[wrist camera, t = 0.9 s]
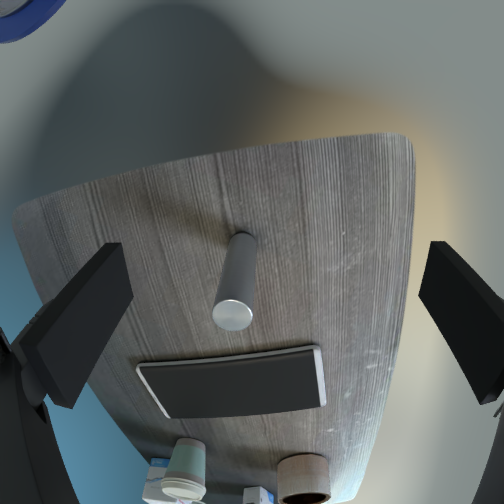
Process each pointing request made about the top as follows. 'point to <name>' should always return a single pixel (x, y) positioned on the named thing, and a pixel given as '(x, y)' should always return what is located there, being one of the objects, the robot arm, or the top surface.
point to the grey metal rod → (236, 284)
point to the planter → (303, 480)
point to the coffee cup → (186, 471)
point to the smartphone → (238, 384)
